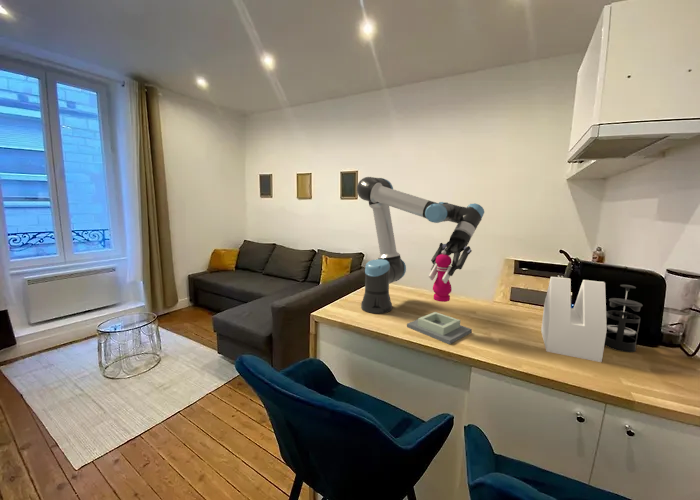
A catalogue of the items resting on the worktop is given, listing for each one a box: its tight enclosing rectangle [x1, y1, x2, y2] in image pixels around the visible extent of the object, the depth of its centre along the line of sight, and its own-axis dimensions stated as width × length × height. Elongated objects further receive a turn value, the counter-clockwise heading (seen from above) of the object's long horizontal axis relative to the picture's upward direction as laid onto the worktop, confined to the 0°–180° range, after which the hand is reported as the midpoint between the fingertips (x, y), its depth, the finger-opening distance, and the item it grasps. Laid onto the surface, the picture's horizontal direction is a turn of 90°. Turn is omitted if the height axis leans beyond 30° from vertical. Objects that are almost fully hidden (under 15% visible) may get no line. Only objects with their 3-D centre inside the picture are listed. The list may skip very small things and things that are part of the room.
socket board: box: [406, 311, 473, 345], centre depth 123 cm, size 20×16×4 cm
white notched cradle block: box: [540, 276, 608, 363], centre depth 109 cm, size 19×15×25 cm
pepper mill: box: [432, 250, 452, 303], centre depth 119 cm, size 7×7×20 cm
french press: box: [604, 284, 644, 353], centre depth 109 cm, size 12×9×23 cm
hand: (437, 279), depth 117 cm, fingers closed on pepper mill, 5 cm apart
